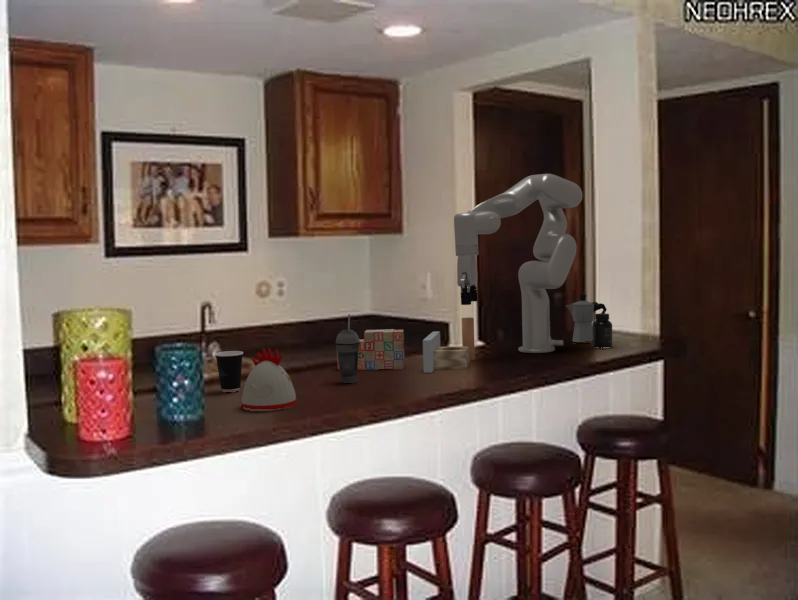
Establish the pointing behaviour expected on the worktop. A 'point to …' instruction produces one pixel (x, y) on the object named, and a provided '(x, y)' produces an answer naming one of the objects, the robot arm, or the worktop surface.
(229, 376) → the dixie cup
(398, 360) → the stack of blocks
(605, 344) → the supplement bottle
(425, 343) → the backstop wall
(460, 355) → the socket block
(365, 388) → the worktop surface
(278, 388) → the kitchen timer
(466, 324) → the dowel
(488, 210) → the robot arm
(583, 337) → the coffee maker
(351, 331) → the beverage cup
